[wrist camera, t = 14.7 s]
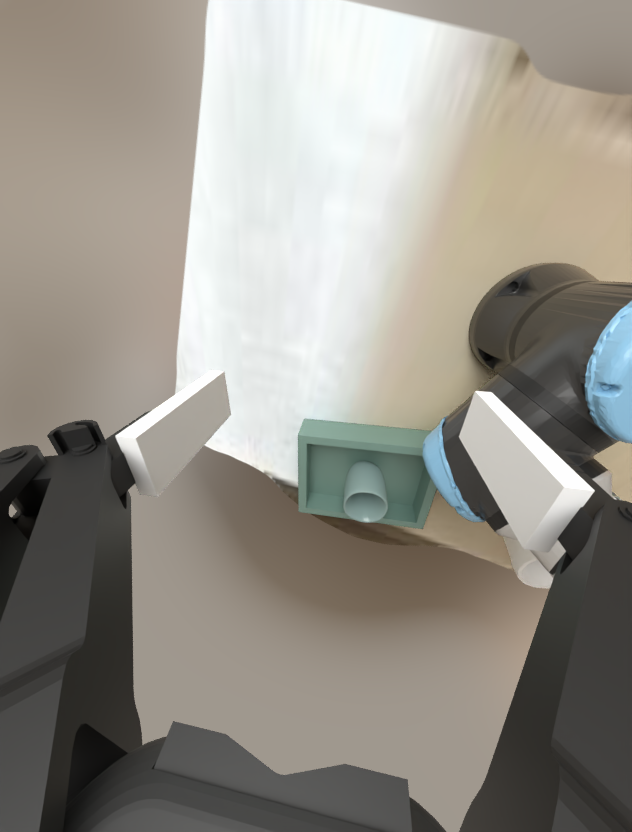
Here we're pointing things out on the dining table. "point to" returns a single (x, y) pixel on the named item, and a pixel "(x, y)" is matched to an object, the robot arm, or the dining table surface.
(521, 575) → the foam cup
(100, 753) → the robot arm
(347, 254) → the dining table surface
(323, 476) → the tray
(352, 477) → the cup
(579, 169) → the dining table surface
